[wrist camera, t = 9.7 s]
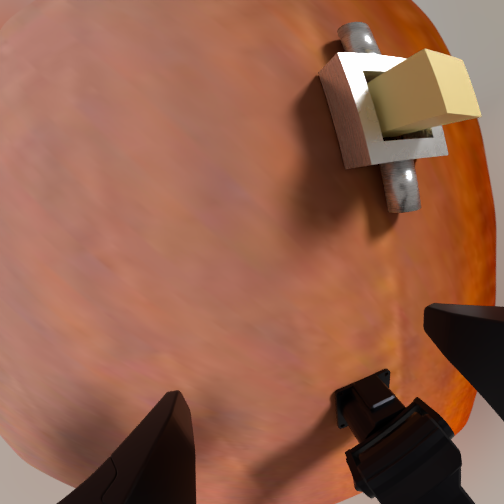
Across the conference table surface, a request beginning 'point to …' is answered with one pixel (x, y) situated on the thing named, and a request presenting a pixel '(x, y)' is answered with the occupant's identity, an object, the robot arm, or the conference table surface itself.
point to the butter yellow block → (423, 94)
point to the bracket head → (373, 119)
